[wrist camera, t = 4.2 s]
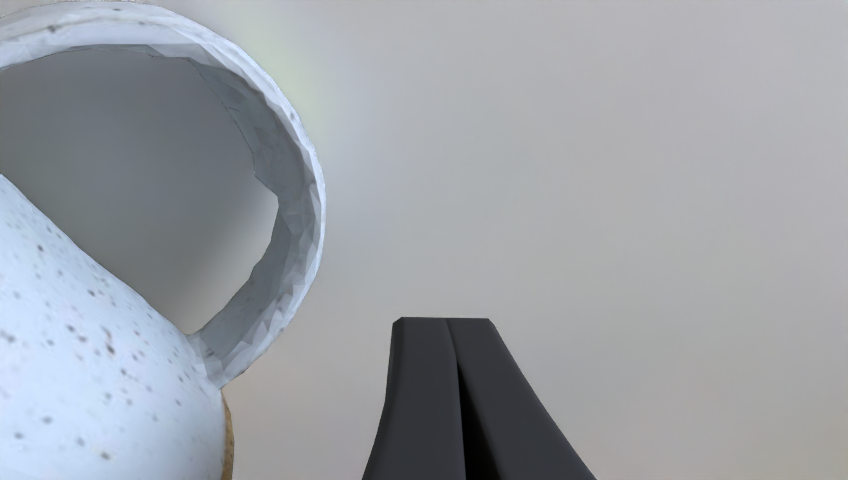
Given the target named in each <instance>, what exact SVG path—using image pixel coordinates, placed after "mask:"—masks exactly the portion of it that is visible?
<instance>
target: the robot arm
mask: <svg viewBox="0 0 848 480" xmlns="http://www.w3.org/2000/svg"><path fill="white" fill-rule="evenodd" d="M362 480H597V479H596V478H595V477H594V476H593V474H592V473H591V472H590V470H589V469H588V468H587V467H586V465H585V464H584V463H583V461H582V460H581V458H580V457H579V456H578V454H577V453H576V452H575V450H574V449H573V448H572V446H571V445H570V444H569V442H568V441H567V439H566V438H565V436H564V435H563V434H562V432H561V431H560V429H559V428H558V426H557V425H556V423H555V422H554V421H553V419H552V418H551V416H550V415H549V413H548V412H547V411H546V409H545V408H544V406H543V405H542V403H541V402H540V400H539V399H538V397H537V396H536V394H535V393H534V391H533V389H532V388H531V386H530V385H529V383H528V381H527V380H526V378H525V377H524V375H523V374H522V372H521V370H520V369H519V367H518V365H517V364H516V362H515V360H514V359H513V357H512V355H511V354H510V352H509V350H508V349H507V347H506V345H505V343H504V342H503V340H502V338H501V336H500V335H499V333H498V331H497V329H496V327H495V326H494V324H493V323H492V322H491V321H490V320H489V319H487V318H426V317H401V318H400V319H398V320H397V321H395V322H394V323H393V326H392V336H391V346H390V356H389V366H388V376H387V387H386V397H385V404H384V408H383V411H382V415H381V419H380V423H379V427H378V431H377V435H376V438H375V441H374V445H373V448H372V451H371V454H370V457H369V460H368V463H367V466H366V469H365V472H364V475H363V478H362Z"/></svg>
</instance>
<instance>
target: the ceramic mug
mask: <svg viewBox="0 0 848 480" xmlns="http://www.w3.org/2000/svg"><path fill="white" fill-rule="evenodd" d="M92 48H95V49H102V50H110V51H132V52H145V53H147V54H148V55H150V56H152V57H177V58H183V59H187V60H188V61H189V62H190V63H191V64H192V65H193V66H194V68H195V69H196V70H197V72H198V73H199V74H200V75H201V77H202V78H203V79H204V80H205V82H206V83H207V84H208V85H209V87H210V88H211V89H212V91H213V92H214V93H215V94H216V96H217V97H218V98H219V99H220V101H221V102H222V104H223V105H224V107H225V108H226V109H227V111H228V112H229V114H230V115H231V117H232V118H233V120H234V121H235V122H236V124H237V125H238V127H239V129H240V131H241V132H242V134H243V136H244V138H245V140H246V142H247V143H248V145H249V147H250V149H251V151H252V153H253V161H254V174H255V176H256V177H257V178H258V179H259V180H260V181H261V182H262V183H263V184H264V185H265V186H266V187H268V188H269V189H270V190H271V191H272V192H274V193H275V194H276V195H277V196H278V203H279V209H278V212H277V216H276V220H275V224H274V228H273V232H272V237H271V242H270V244H269V246H268V248H267V250H266V252H265V253H264V255H263V257H262V259H261V260H260V261H259V262H258V263H257V264H256V265H255V266H254V268H253V270H252V273H251V275H250V278H249V280H248V281H247V282H246V283H245V284H244V285H243V286H242V287H241V288H240V289H239V291H238V292H237V293H236V294H235V295H234V296H233V297H232V298H231V300H230V301H229V302H228V304H227V305H226V306H225V307H224V308H223V309H222V310H221V311H220V312H219V313H218V314H216V315H215V316H214V317H213V318H212V319H211V320H210V321H209V322H208V323H207V324H206V325H205V326H204V327H203V328H202V329H200V330H199V331H197V332H195V333H194V334H192V335H184V334H183V333H182V332H181V331H180V330H179V329H178V328H177V327H176V326H175V325H173V324H172V323H171V322H170V321H168V320H167V319H166V318H164V317H163V316H162V315H160V314H159V313H158V312H157V311H156V310H154V309H153V308H152V307H151V306H150V305H149V304H148V303H147V302H146V300H145V299H144V298H143V297H142V296H140V295H139V294H138V293H137V292H136V291H134V290H133V289H132V288H131V287H129V286H128V285H127V284H125V283H124V282H122V281H121V280H120V279H118V278H117V277H115V276H114V275H113V274H111V273H110V272H109V271H107V270H106V269H105V268H103V267H102V266H101V265H100V264H98V263H97V262H96V261H94V260H93V259H92V258H91V257H90V256H89V255H88V254H86V253H85V252H84V251H82V250H81V249H80V248H79V247H78V246H76V245H75V244H74V243H73V242H72V240H71V239H70V238H69V237H68V236H67V235H66V234H65V233H63V232H62V231H61V230H60V229H59V228H58V227H57V226H56V225H55V224H54V223H53V222H52V221H51V220H50V219H49V218H48V217H46V216H45V215H44V214H43V213H42V212H41V211H40V210H39V209H38V208H36V207H35V206H34V205H33V204H32V203H31V202H30V201H29V200H28V199H27V198H26V197H25V196H24V195H23V194H22V193H21V192H20V190H19V189H18V188H17V187H16V186H15V185H14V184H12V183H11V182H10V181H9V180H8V179H7V178H5V177H4V176H3V175H2V174H1V173H0V480H232V471H233V459H234V437H233V428H232V420H231V413H230V411H229V408H228V406H227V403H226V401H225V399H224V396H223V394H222V392H221V389H222V388H223V387H224V386H225V385H226V383H227V382H228V381H230V380H232V379H234V378H235V377H237V376H239V375H240V374H242V373H243V372H244V371H245V370H246V369H247V368H248V367H249V366H250V365H251V364H252V363H253V362H254V361H255V360H256V359H257V358H259V357H260V356H261V355H262V354H263V353H264V352H266V351H267V350H268V348H269V347H270V346H271V344H272V343H273V341H274V340H275V338H276V337H277V336H278V335H279V334H280V333H281V332H282V331H283V330H284V329H285V328H286V326H287V325H288V324H289V323H290V322H291V320H292V319H293V317H294V315H295V313H296V312H297V310H298V308H299V306H300V304H301V302H302V301H303V299H304V297H305V295H306V293H307V292H308V290H309V288H310V287H311V285H312V283H313V281H314V278H315V276H316V273H317V271H318V268H319V266H320V261H321V255H322V249H323V242H324V235H325V229H326V190H325V184H324V178H323V172H322V169H321V166H320V164H319V162H318V160H317V157H316V151H315V148H314V146H313V145H312V143H311V141H310V140H309V138H308V136H307V134H306V132H305V130H304V127H303V125H302V123H301V121H300V119H299V117H298V115H297V113H296V112H295V110H294V109H293V107H292V106H291V105H290V103H289V102H288V100H287V99H286V98H285V96H284V95H283V93H282V92H281V91H280V89H279V88H278V86H277V85H276V84H275V82H274V81H273V79H272V78H271V77H270V76H269V75H268V74H267V73H266V72H265V71H264V70H263V69H262V68H260V67H259V66H258V65H257V64H256V63H255V62H254V61H253V60H252V59H251V58H250V57H249V56H248V55H247V54H246V53H245V52H244V51H243V50H242V49H241V48H240V47H239V46H237V45H235V44H234V43H232V42H230V41H228V40H227V39H225V38H223V37H221V36H220V35H218V34H216V33H214V32H213V31H211V30H209V29H208V28H206V27H204V26H202V25H200V24H198V23H196V22H194V21H192V20H190V19H188V18H186V17H184V16H181V15H179V14H176V13H174V12H172V11H169V10H167V9H164V8H162V7H159V6H153V5H147V4H140V3H133V2H127V1H108V0H79V1H66V2H59V3H53V4H46V5H40V6H34V7H30V8H27V9H24V10H21V11H18V12H15V13H12V14H9V15H6V16H3V17H0V71H1V70H4V69H7V68H10V67H14V66H17V65H20V64H23V63H26V62H30V61H33V60H36V59H39V58H43V57H46V56H49V55H52V54H55V53H59V52H67V51H75V50H84V49H92Z"/></svg>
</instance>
